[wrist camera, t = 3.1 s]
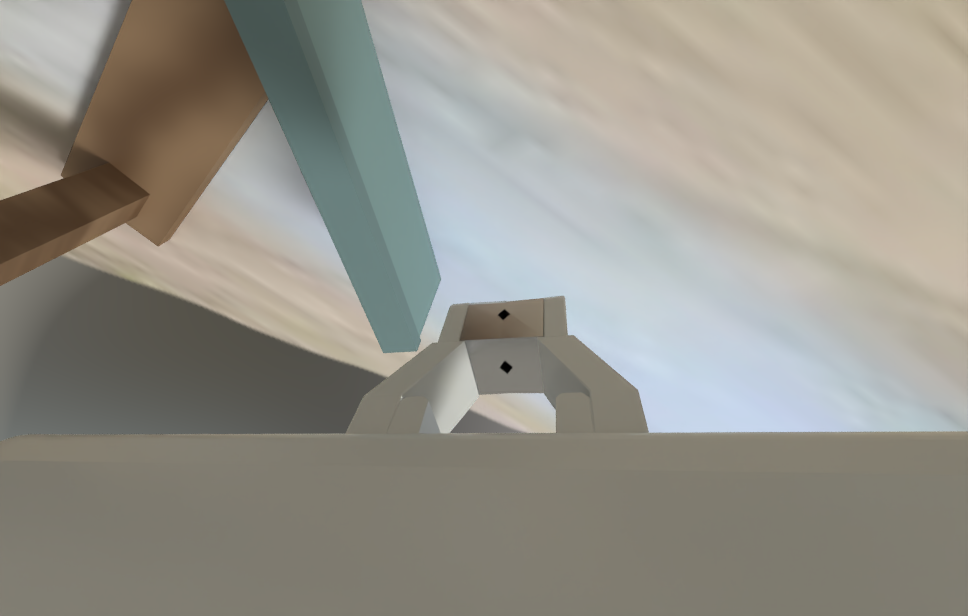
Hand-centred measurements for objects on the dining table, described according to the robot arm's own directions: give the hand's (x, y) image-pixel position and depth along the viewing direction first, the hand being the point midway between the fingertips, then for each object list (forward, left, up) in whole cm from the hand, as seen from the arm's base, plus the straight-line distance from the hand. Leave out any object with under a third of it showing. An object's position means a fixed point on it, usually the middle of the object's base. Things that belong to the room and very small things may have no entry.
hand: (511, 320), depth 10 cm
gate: (-7, -4, -12) cm, 14 cm away
